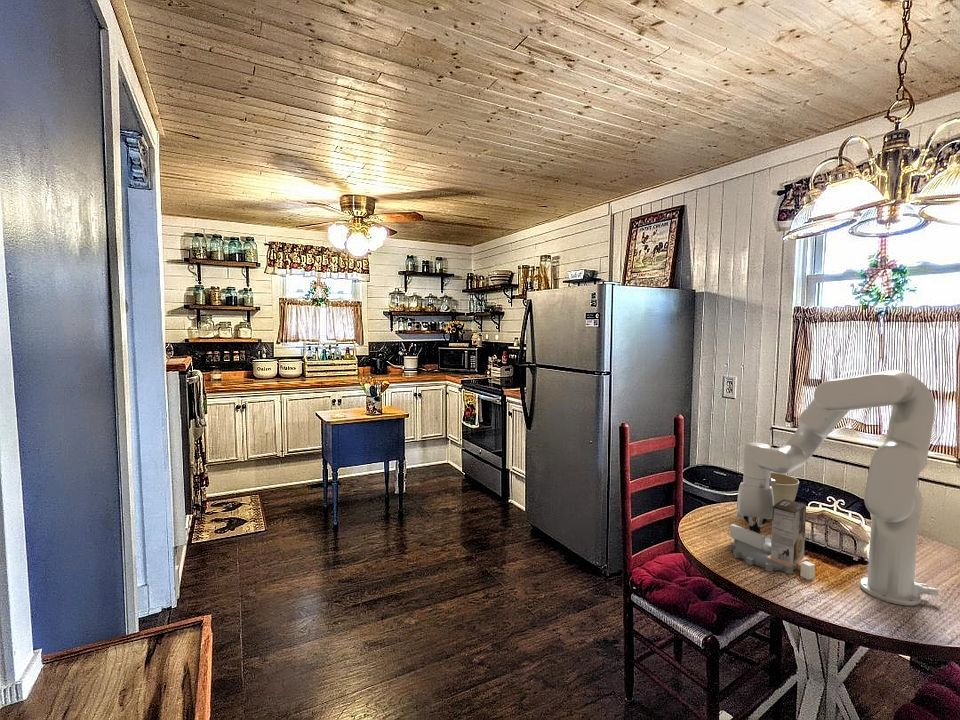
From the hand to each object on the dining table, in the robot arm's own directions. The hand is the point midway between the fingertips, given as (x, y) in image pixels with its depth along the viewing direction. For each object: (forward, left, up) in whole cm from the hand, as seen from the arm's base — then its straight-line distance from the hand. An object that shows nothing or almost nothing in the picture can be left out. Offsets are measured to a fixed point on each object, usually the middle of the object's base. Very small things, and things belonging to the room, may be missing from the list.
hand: (754, 536), depth 158 cm
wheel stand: (-6, +10, -4) cm, 12 cm away
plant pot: (-10, -28, -4) cm, 30 cm away
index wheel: (-2, +6, -3) cm, 7 cm away
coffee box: (-7, +10, -1) cm, 13 cm away
